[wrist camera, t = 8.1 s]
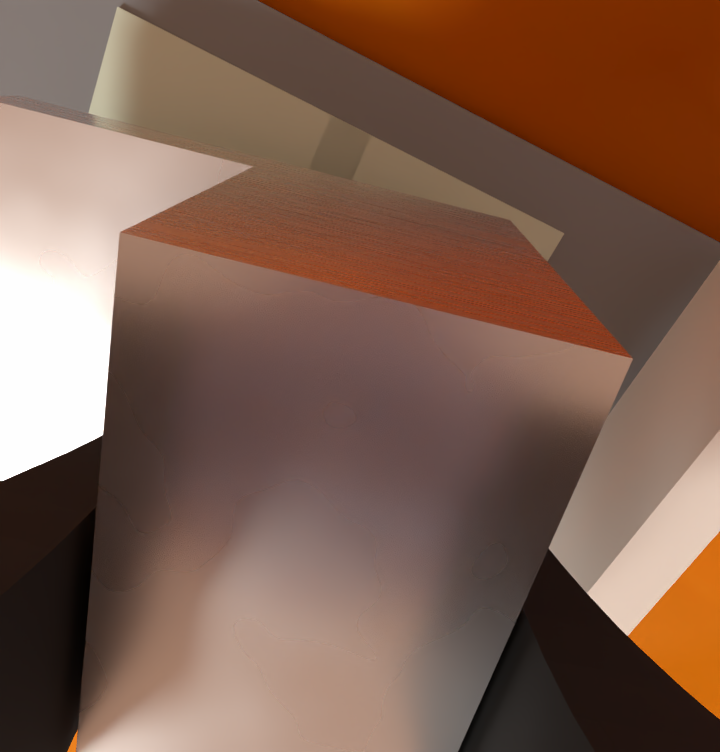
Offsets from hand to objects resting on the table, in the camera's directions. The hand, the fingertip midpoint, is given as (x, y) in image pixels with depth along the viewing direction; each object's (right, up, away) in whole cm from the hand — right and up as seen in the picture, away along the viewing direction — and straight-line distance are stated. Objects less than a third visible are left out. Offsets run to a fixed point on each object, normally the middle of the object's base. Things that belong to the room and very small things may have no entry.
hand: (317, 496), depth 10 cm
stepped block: (-2, +1, +2) cm, 3 cm away
